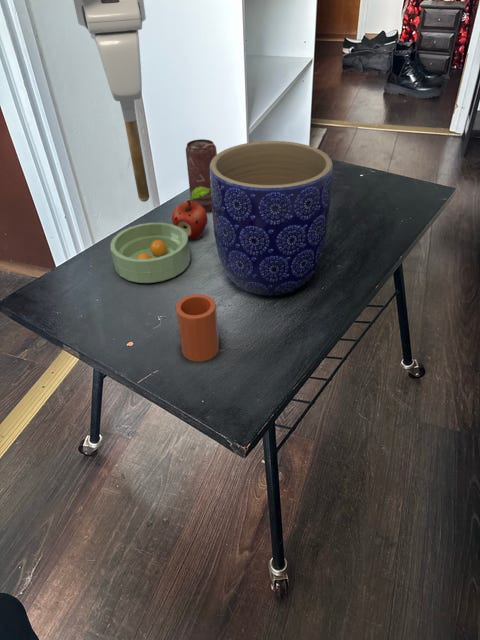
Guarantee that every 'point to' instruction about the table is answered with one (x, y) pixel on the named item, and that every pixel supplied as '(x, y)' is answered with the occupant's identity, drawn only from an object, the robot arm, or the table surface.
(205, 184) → the can
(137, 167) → the stick
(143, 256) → the bead
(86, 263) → the table surface
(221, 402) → the table surface
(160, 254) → the bead
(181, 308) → the crock
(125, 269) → the bowl
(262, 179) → the planter
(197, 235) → the apple
